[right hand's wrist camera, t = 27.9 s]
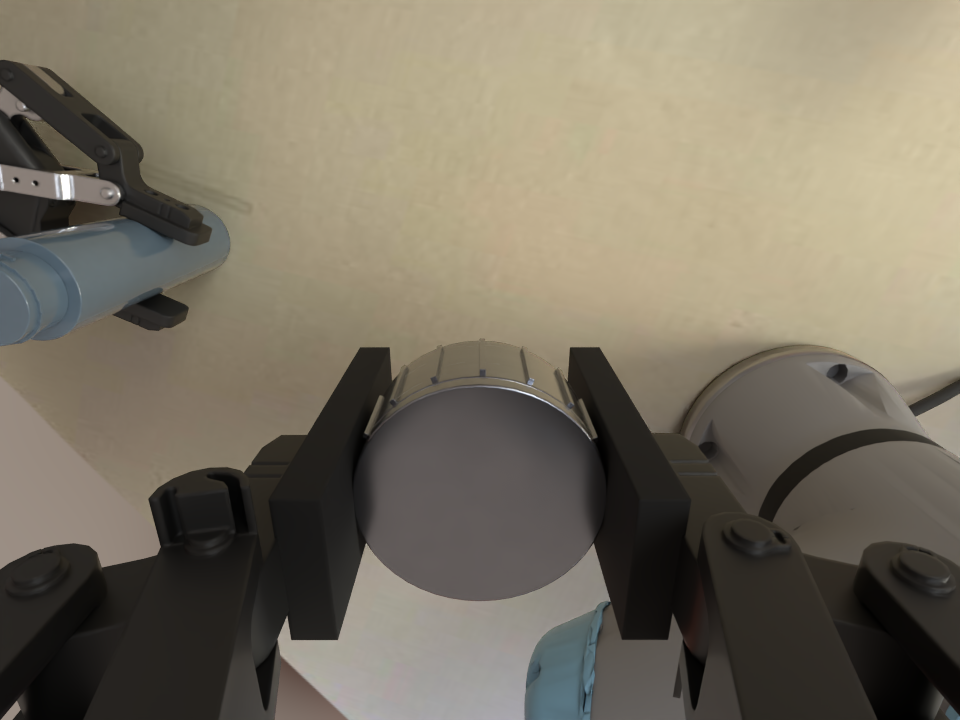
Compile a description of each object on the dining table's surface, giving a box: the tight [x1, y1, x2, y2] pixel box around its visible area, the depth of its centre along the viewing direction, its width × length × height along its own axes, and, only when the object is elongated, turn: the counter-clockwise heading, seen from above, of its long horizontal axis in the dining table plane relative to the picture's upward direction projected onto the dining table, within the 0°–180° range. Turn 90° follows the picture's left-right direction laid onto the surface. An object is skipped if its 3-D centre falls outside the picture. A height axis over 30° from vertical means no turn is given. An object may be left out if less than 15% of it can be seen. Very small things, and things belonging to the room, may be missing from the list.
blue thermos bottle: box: [0, 205, 230, 346], centre depth 27 cm, size 4×4×16 cm
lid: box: [352, 339, 607, 601], centre depth 11 cm, size 5×5×2 cm
